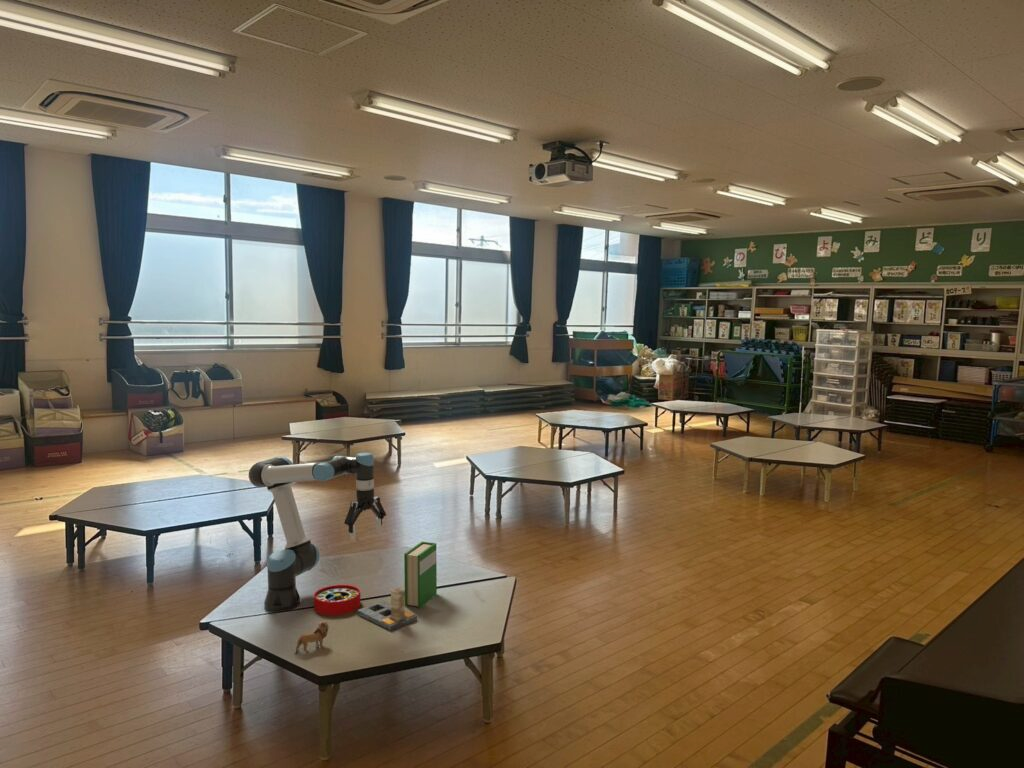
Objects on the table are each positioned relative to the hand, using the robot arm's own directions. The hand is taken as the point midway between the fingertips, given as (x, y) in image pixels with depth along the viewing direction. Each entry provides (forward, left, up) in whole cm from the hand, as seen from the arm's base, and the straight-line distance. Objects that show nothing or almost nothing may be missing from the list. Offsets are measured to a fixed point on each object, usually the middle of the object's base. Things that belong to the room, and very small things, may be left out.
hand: (365, 536), depth 302 cm
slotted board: (-1, -16, -32) cm, 36 cm away
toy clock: (-8, +10, -32) cm, 35 cm away
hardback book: (+21, -12, -32) cm, 40 cm away
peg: (-1, -24, -32) cm, 39 cm away
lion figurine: (-38, -18, -32) cm, 52 cm away
